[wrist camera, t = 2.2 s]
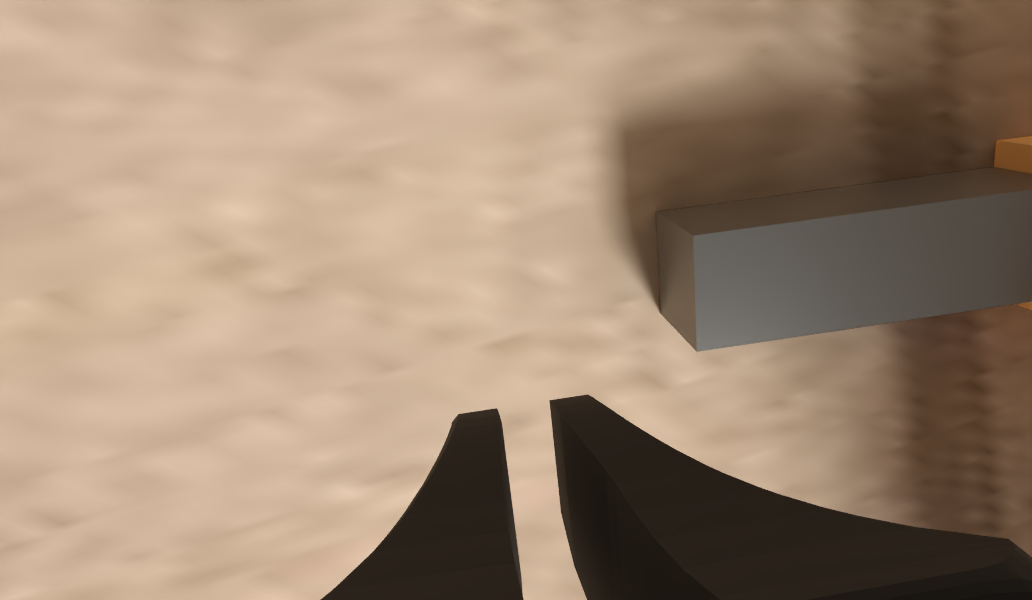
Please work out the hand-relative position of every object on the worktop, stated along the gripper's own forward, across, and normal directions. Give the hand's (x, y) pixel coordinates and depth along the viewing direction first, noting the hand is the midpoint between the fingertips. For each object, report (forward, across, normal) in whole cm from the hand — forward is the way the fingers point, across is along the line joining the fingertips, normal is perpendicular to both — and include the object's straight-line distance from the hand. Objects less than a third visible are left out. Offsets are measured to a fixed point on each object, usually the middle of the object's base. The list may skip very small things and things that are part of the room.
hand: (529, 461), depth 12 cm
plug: (+9, -13, 0) cm, 16 cm away
